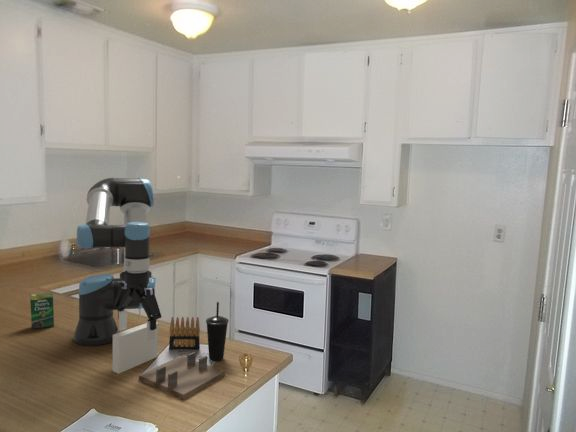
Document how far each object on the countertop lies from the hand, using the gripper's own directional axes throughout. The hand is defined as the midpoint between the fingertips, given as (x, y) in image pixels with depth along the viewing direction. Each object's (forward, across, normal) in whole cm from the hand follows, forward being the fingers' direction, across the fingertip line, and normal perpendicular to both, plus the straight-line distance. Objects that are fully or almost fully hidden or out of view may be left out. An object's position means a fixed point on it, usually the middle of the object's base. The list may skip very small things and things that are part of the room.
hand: (136, 334), depth 149 cm
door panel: (+10, 0, 0) cm, 10 cm away
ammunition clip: (+10, +4, +18) cm, 21 cm away
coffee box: (+10, -54, -1) cm, 54 cm away
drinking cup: (+10, +18, +19) cm, 28 cm away
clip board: (+10, +18, +2) cm, 21 cm away
